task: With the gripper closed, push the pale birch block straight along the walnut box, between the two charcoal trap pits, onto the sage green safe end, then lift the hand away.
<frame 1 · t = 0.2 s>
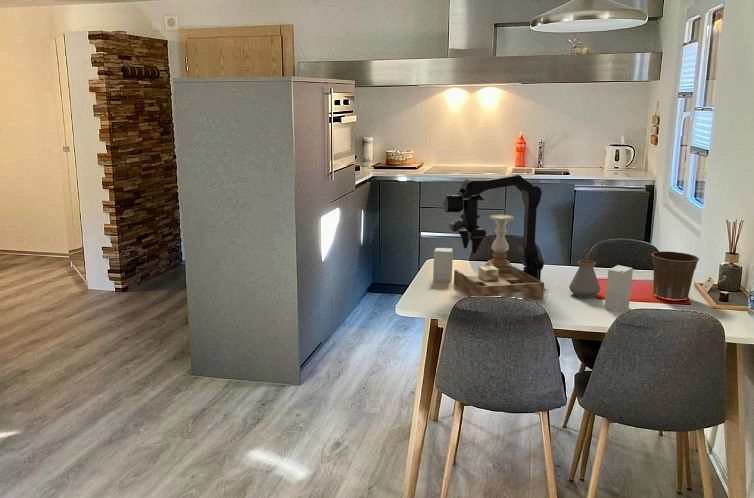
hand: (469, 250, 264), 14 cm above the table, tool pointing down, fingers open, 9 cm apart
candle holder: (499, 270, 291), on the table
coffee pot: (584, 292, 259), on the table
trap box: (496, 290, 259), on the table
plant pot: (670, 297, 252), on the table
birch block: (488, 277, 267), point 3 cm above the table, touching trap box
supplement box: (442, 279, 276), on the table
skincare box: (616, 308, 238), on the table
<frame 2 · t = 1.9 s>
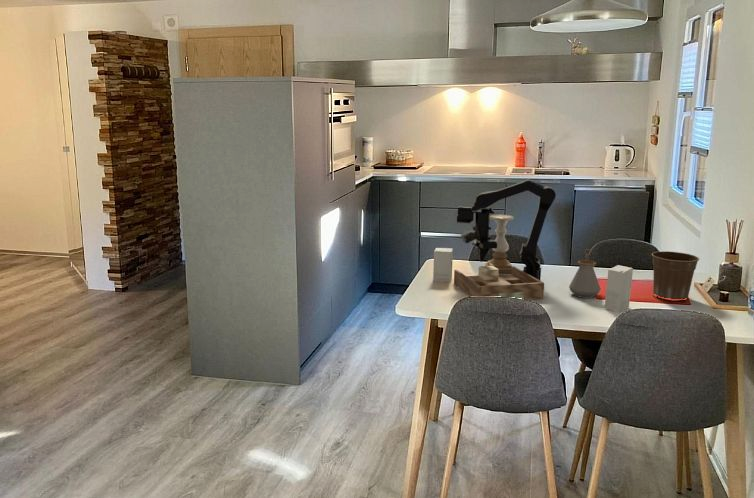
hand: (480, 261, 274), 8 cm above the table, tool pointing down, fingers closed
nothing on the table moved.
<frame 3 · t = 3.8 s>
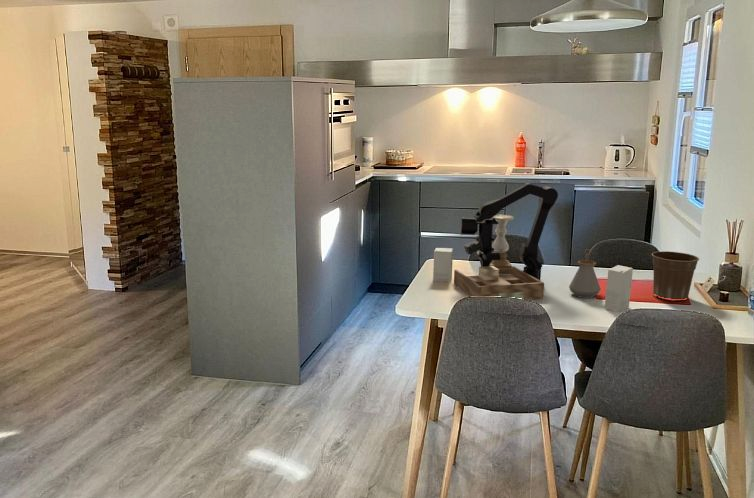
hand: (483, 272, 271), 4 cm above the table, tool pointing down, fingers closed
birch block: (488, 277, 267), point 3 cm above the table, touching gripper, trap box
everything else where it was.
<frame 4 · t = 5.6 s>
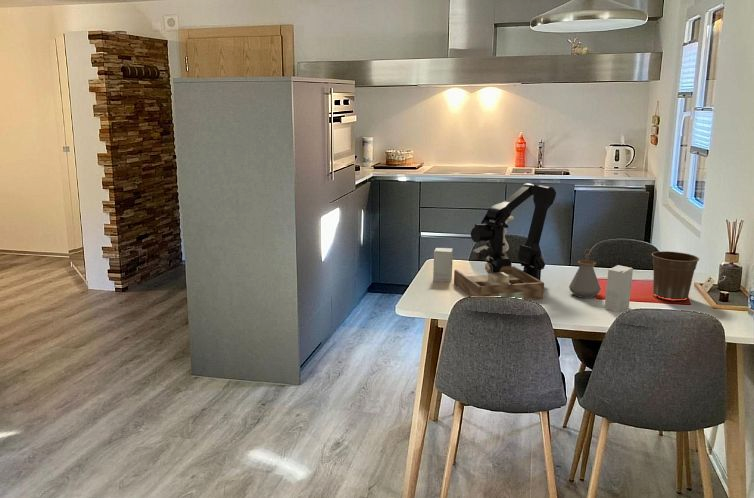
hand: (493, 278, 261), 4 cm above the table, tool pointing down, fingers closed
birch block: (498, 284, 257), point 3 cm above the table, touching gripper
everything else where it was.
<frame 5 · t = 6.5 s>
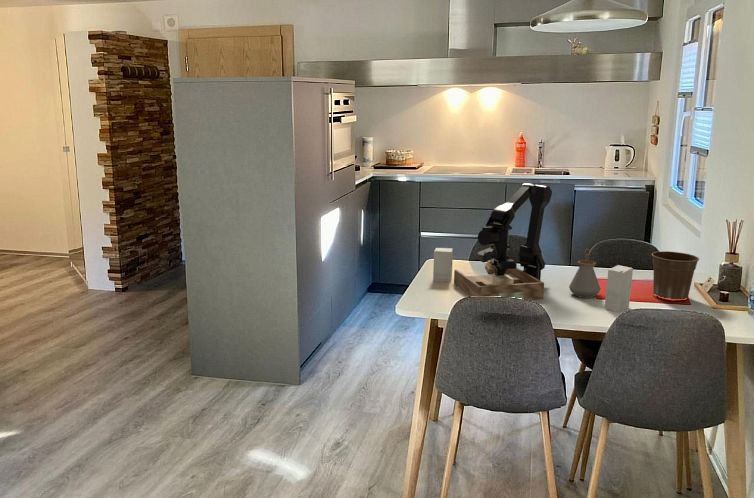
hand: (498, 281, 257), 4 cm above the table, tool pointing down, fingers closed
birch block: (502, 287, 253), point 3 cm above the table, touching gripper
everything else where it was.
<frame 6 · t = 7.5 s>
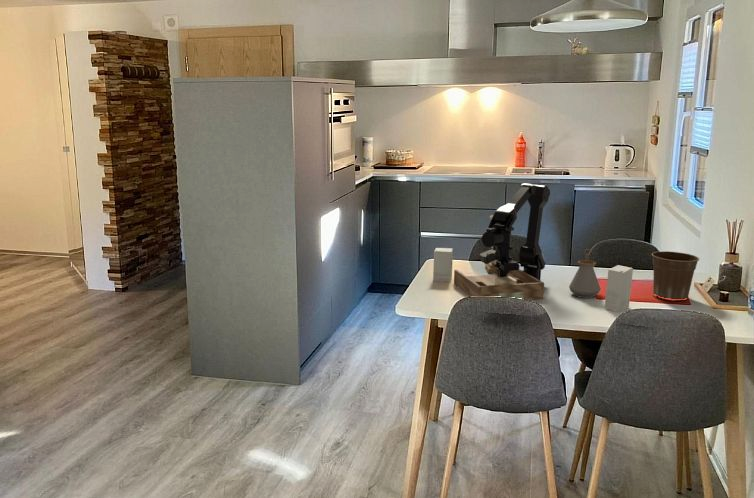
hand: (500, 283, 255), 4 cm above the table, tool pointing down, fingers closed
birch block: (505, 289, 251), point 3 cm above the table, touching gripper, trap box
everything else where it was.
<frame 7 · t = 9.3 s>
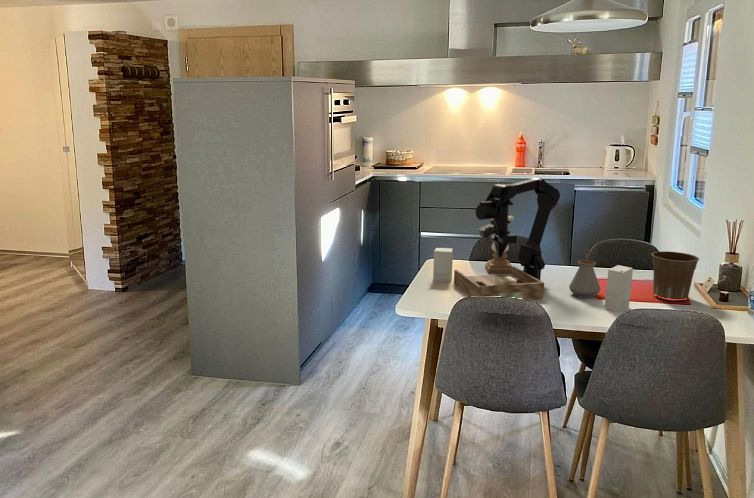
hand: (499, 256, 260), 13 cm above the table, tool pointing down, fingers closed
birch block: (505, 289, 251), point 3 cm above the table, touching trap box
everything else where it was.
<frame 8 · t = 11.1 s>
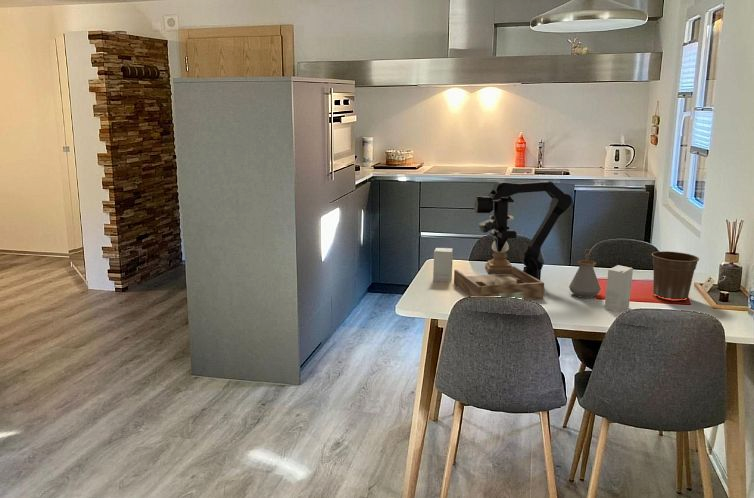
hand: (498, 251, 268), 13 cm above the table, tool pointing down, fingers closed
nothing on the table moved.
at the end: birch block inside the target area on the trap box (0.3 cm from its centre), point 3.0 cm above the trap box's base; birch block tilted 0° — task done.
